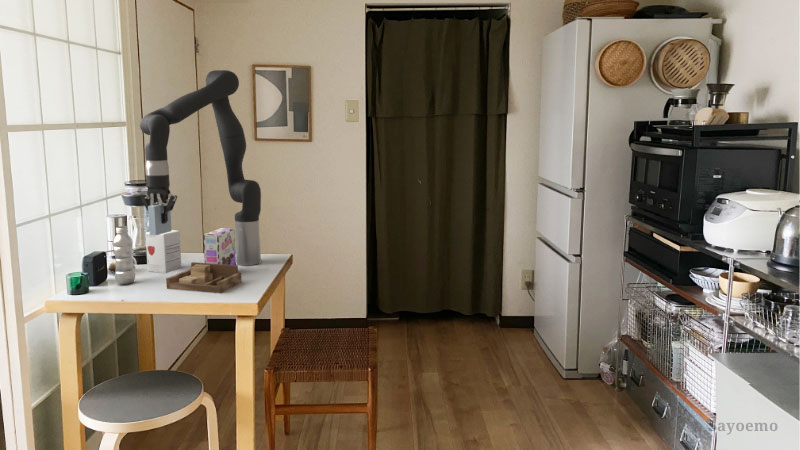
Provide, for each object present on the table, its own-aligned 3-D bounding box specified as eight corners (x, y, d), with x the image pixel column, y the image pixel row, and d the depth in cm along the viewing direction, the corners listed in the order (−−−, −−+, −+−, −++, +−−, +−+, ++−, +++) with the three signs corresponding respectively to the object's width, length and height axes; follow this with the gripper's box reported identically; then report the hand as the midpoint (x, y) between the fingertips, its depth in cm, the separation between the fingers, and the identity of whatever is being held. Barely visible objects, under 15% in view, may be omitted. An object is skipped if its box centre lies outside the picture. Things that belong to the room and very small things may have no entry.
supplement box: (146, 271, 243) (144, 232, 240) (163, 266, 251) (161, 228, 248) (165, 273, 239) (163, 234, 237) (182, 268, 248) (180, 230, 245)
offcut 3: (197, 280, 226) (197, 272, 225) (212, 281, 224) (212, 273, 224) (189, 284, 221) (188, 275, 221) (204, 285, 219) (204, 276, 219)
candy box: (219, 279, 232) (217, 234, 229) (204, 278, 233) (202, 233, 230) (236, 270, 245) (235, 227, 242) (222, 269, 246) (220, 227, 243)
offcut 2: (196, 272, 225) (196, 264, 224) (210, 273, 224) (209, 264, 224) (190, 275, 220) (190, 267, 220) (204, 276, 220) (204, 267, 219)
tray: (190, 281, 229) (189, 261, 228) (241, 285, 224) (240, 265, 223) (166, 291, 216) (165, 271, 214) (220, 296, 210) (219, 275, 209)
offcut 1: (187, 284, 220) (186, 276, 220) (199, 286, 219) (198, 277, 218) (179, 287, 217) (178, 279, 216) (191, 289, 215) (191, 280, 214)
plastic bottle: (140, 282, 228) (136, 226, 224) (126, 286, 221) (122, 229, 218) (125, 280, 230) (121, 225, 226) (111, 285, 223) (106, 228, 220)
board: (165, 230, 230) (163, 202, 228) (171, 231, 229) (170, 203, 228) (149, 235, 221) (147, 206, 220) (155, 235, 221) (154, 206, 219)
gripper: (181, 173, 224) (184, 222, 227) (146, 172, 227) (149, 220, 230) (168, 175, 217) (171, 225, 219) (132, 173, 220) (136, 223, 223)
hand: (160, 222), depth 225 cm, fingers closed on board, 2 cm apart
